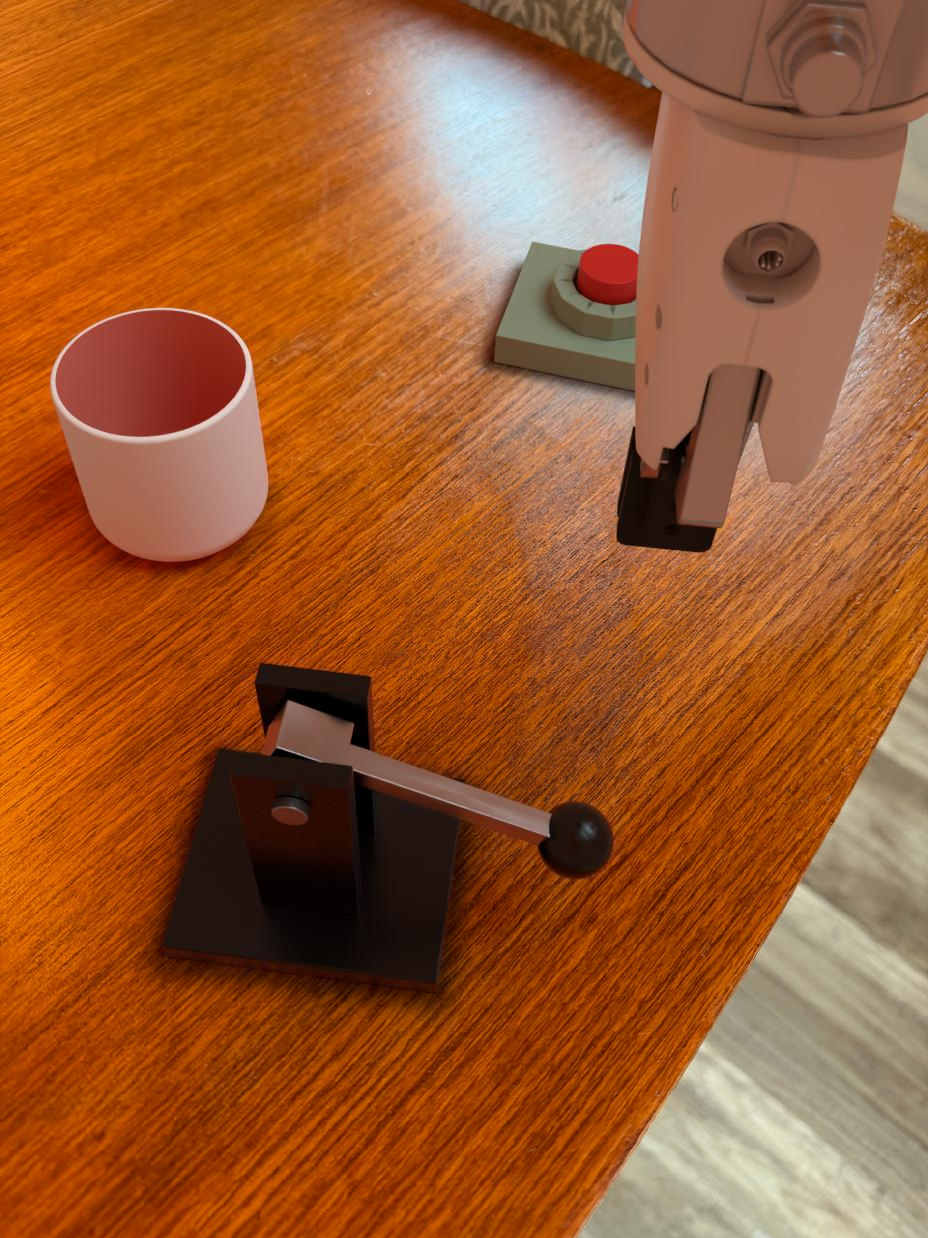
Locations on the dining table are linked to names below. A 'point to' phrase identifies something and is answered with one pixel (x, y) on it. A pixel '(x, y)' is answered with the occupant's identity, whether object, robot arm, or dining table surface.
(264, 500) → the cup
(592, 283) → the button
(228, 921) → the bracket
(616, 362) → the button box
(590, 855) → the lever
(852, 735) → the dining table surface
